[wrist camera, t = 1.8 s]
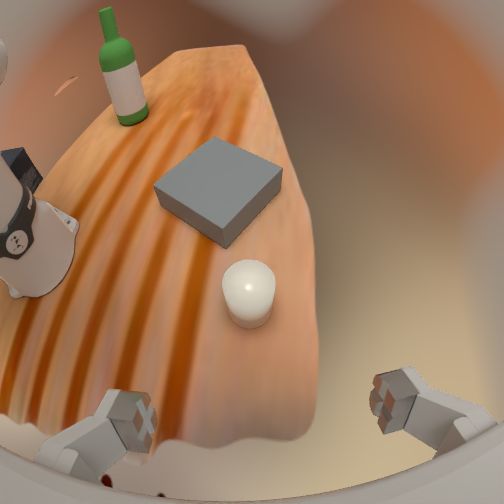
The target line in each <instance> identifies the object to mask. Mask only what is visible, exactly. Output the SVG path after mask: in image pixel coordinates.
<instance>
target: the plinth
mask: <svg viewBox="0 0 504 504" xmlns="http://www.w3.org/2000/svg"><path fill="white" fill-rule="evenodd" d="M282 171H283V168H282V167H280V166H278V165H276V164H273V163H271V162H269V161H267V160H265V159H263V158H261V157H259V156H257V155H254V154H252V153H250V152H248V151H246V150H244V149H241V148H239V147H237V146H235V145H232V144H230V143H228V142H225V141H223V140H221V139H219V138H216V137H212V138H211V139H210V140H208V141H207V142H206V143H204V144H203V145H202V146H200V147H199V148H198V149H196V150H195V151H194V152H193V153H191V154H190V155H189V156H187V157H186V158H185V159H184V160H182V161H181V162H180V163H179V164H177V165H176V166H175V167H174V168H172V169H171V170H170V171H169V172H168V173H166V174H165V175H164V176H163V177H162V178H160V179H159V180H158V181H157V182H156V183H155V184H153V187H154V189H155V192H156V194H157V197H158V200H159V202H160V205H161V206H162V207H164V208H165V209H167V210H168V211H170V212H171V213H173V214H174V215H176V216H177V217H179V218H180V219H182V220H183V221H185V222H186V223H188V224H189V225H191V226H192V227H194V228H195V229H196V230H198V231H199V232H201V233H202V234H204V235H205V236H207V237H208V238H210V239H212V240H213V241H215V242H216V243H218V244H219V245H221V246H222V247H224V248H225V249H227V247H228V246H229V245H230V244H231V243H232V242H233V241H234V240H235V239H236V238H237V237H238V235H239V234H240V233H241V232H242V231H243V230H244V229H245V228H246V227H247V226H248V225H249V223H250V222H251V221H252V220H253V219H254V218H255V217H256V216H257V215H258V214H259V213H260V212H261V211H262V209H263V208H264V207H265V206H266V205H267V204H268V203H269V202H270V201H271V200H272V199H273V198H274V197H275V196H276V194H277V193H278V192H279V191H280V190H281V182H282Z"/></svg>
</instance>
